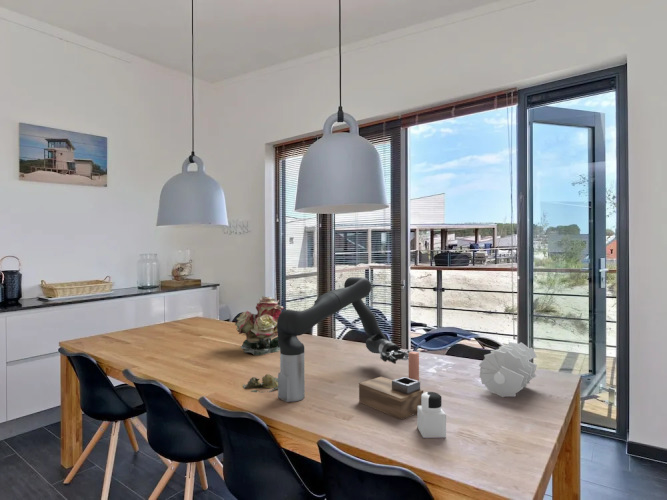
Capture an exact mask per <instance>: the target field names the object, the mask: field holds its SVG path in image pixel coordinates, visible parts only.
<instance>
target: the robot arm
mask: <svg viewBox="0 0 667 500" xmlns="http://www.w3.org/2000/svg"><path fill="white" fill-rule="evenodd" d="M371 291H372V282H371V281H370V280H369V279H368V278H366V277H356V276H354V277H352V276H351V277H348V278H346V280H345V281H344V287H342V288H337V289H332V290H330V291H327V292H325V293H323V294H321V295H320V296H318V297H317V299H315V301H314V304H313V306H311V307H309V308H307V309H304V310H295V309H283V310H281V313H280V315H279V317H278V321H277V333H278V335H277V337H278V345H279V347H280V352H279V354H280V355H279V359H280V360H279V361H280V362H279V366H280V367H279V372H278V374H277V378H278V389H277V397H278V399H280V400H282V401H284V402H285V403H290V402H299V401H302V400H303V399H305V392H306V391H305V389H306V388H305V381H306V380H305V345H304V344H303V342H302V341H300V340H299V338H298V336H302V335H304V334H306V333H307V332H308V331H310V330H311V329H312V328H314V327H315V326H317V324H319V323H321V322H322V321H323V320H325V319H327V318H329V317H330V316H333V315H335V314H336V313H338V312H340V311H341V310H343V309H344V308H346V307H348V306H350V305H352V307H353V308H354V310H355V312H356V313H357V315H358V318H359V320H360V322H361V325H362V327H363V330H364V333H365V334H366V335H367V336H370V337H368V338H367V339H366V341H365V346H366V349H367V350H368V351H369V352H370V353H372V354H380V355H379V356H380V360H382V361H383V362H384V363H385V362H387V361H388V362H389V363H392V364H397V361H398V360H399V361H401V360H402V361H409V352H413V351H411V350H409V349H408V350H407V351H406V350H405V351H404V350H402V349H401V347H400V346H399V345H398V344H396V343H394V342H392V341H391V340H390V341H389V340H388V338H387V337H386V335H385V334H384V333H383V332H382V330H381V328H380V327H379V324H378V323H379V322H378V321H377V318H376V315H375V314H374V312H373V311H372V310H371V308H369V307H368V306H367V305H366V304H365V302H364V301H363V299H365V298H367V296H369V295H370V293H371Z"/></svg>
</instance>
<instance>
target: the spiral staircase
mask: <svg viewBox="0 0 667 500" xmlns="http://www.w3.org/2000/svg"><path fill="white" fill-rule="evenodd" d="M534 358H538V356H537V355H536V352H535V350H534V348H533V347H528V346H527V344H524V343H523V342H521V341H520V342H519V343H517V342H511V341H508V343H507V344H505V345H503V344H502V346H498V349H494V350H490V353H487V354H484V355H483V360H481V362H480V363H479V365H478V366H479V367H480V370H479V378H480V381H481V384H482V385H484V386H485V387H486V388H487V390H488V391H489V392H490V394H495V395H497V396H499V397H501V398H503V399H505V397H516V394H517V393H520V391H522V390H523V389H524V388H527V387H528V384H530V383H531V381H532V380H533V379H534V378H536V377H537V374H536V373H535V372H536V368H537V366H538V364H536V363H534V362H531V361H530V360H533V359H534Z"/></svg>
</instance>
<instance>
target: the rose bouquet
mask: <svg viewBox="0 0 667 500" xmlns="http://www.w3.org/2000/svg"><path fill="white" fill-rule="evenodd" d="M258 300H259V302H256V306H255V309H256V311H257V313H256V314H255V313H252V312H251V311H250V310H246V311H243V312H242V313H240V314H239V317H236V320H237V322H235V323H234V325H235V326H236V331H237V332H238V335H242V336H246V337H245V338H246V339H245V340H244V341H243V342H242V345H241V346H240V349H242V350H243V352H244V353H249V354H253V356H263V355H267V354H270V353H271V354H272V353H280V347H279V345H278V333H277V321H278V317H279V315H280V313H281V312H282V311H284V310H286V309H285V307H284V306H282V305H279V302H280V299H277V301H276V299H275V298H273V297H271V296H266V295H262V296H261V297H260V298H259V297H258Z"/></svg>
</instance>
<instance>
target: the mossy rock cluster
mask: <svg viewBox="0 0 667 500" xmlns="http://www.w3.org/2000/svg"><path fill="white" fill-rule="evenodd" d="M259 380H260V378H258V377H257V376H256V377H255V376H252V377H251V378H250V379H249V380H248V381H247V384H246V383H243V390H244V389H249V388H250V389H252V390H250V392H251V393H252V392H254V393H264V391H258V389H271V390H269V391H266V393H271V392H272V391H274V390H278V377H274V376H273V375H271V374H269V373H267V374H265V375H264V376H262V377H261V382H260V381H259ZM245 384H246V385H245Z"/></svg>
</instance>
